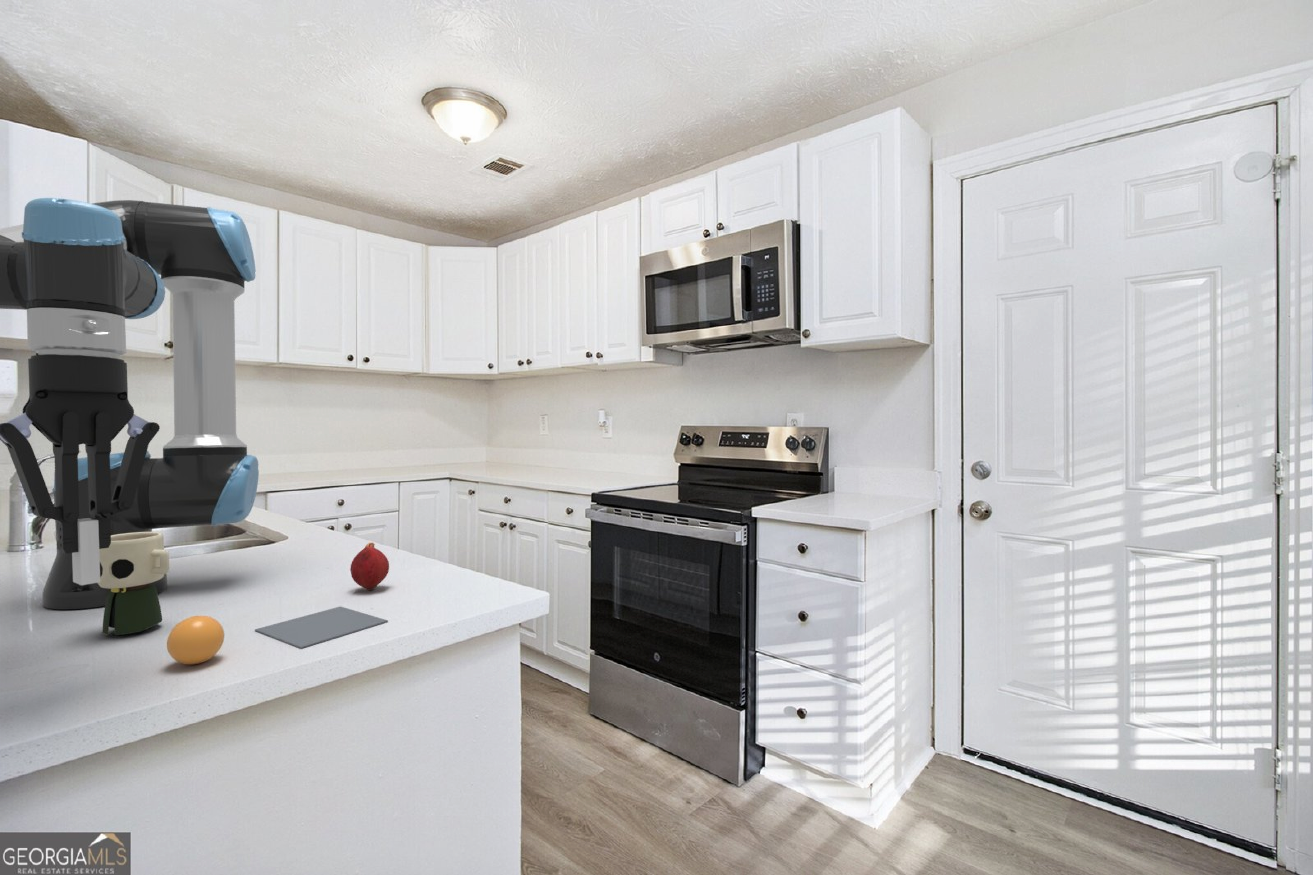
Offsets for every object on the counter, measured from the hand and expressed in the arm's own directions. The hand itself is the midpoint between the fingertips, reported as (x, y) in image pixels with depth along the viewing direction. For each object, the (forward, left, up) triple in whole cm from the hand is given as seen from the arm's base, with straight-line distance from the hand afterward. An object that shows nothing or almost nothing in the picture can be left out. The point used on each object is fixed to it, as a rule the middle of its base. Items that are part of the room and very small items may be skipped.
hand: (86, 581), depth 65 cm
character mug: (-20, +10, -12) cm, 26 cm away
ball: (0, +10, -9) cm, 13 cm away
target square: (0, +25, -12) cm, 27 cm away
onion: (-11, +39, -12) cm, 42 cm away
